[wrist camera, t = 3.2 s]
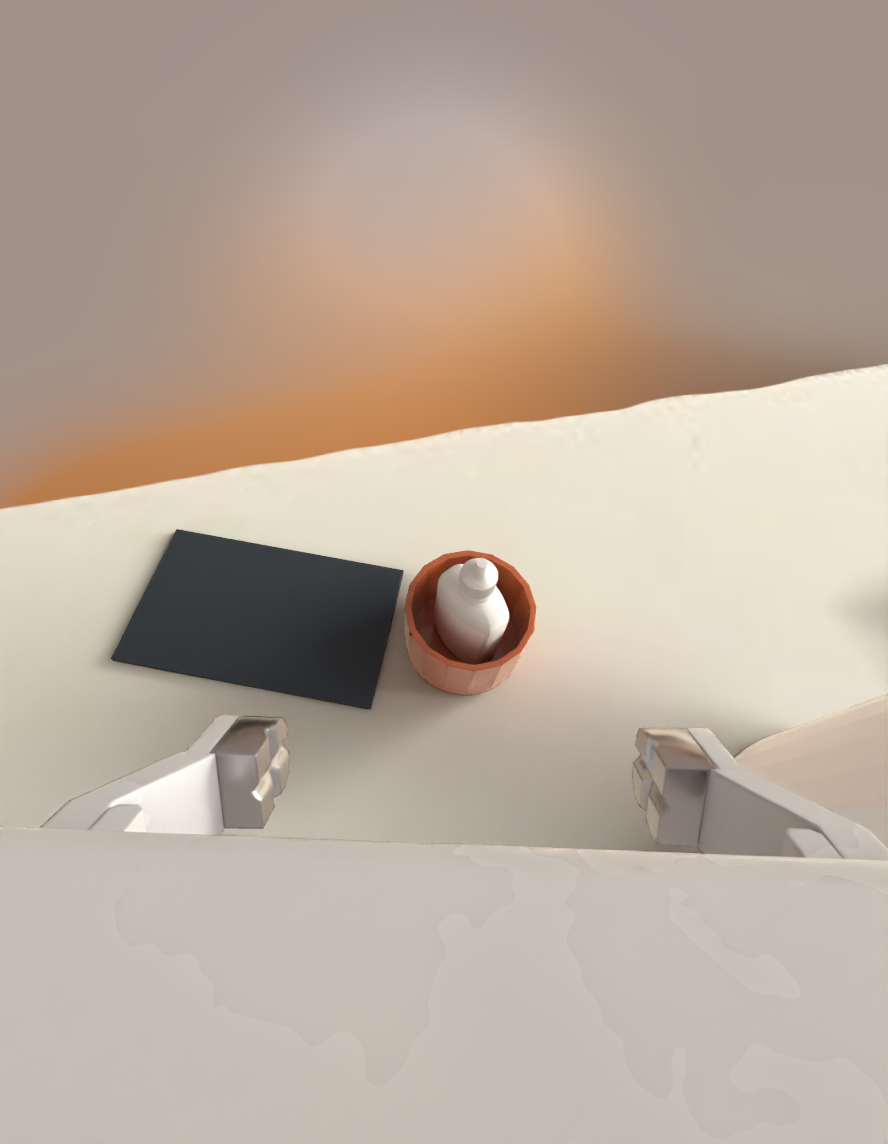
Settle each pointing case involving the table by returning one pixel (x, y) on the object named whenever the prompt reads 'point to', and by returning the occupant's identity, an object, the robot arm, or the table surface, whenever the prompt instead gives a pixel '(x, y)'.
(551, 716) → the table surface
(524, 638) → the cup
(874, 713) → the white curved half cylinder
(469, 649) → the eye dropper bottle
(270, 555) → the mat
